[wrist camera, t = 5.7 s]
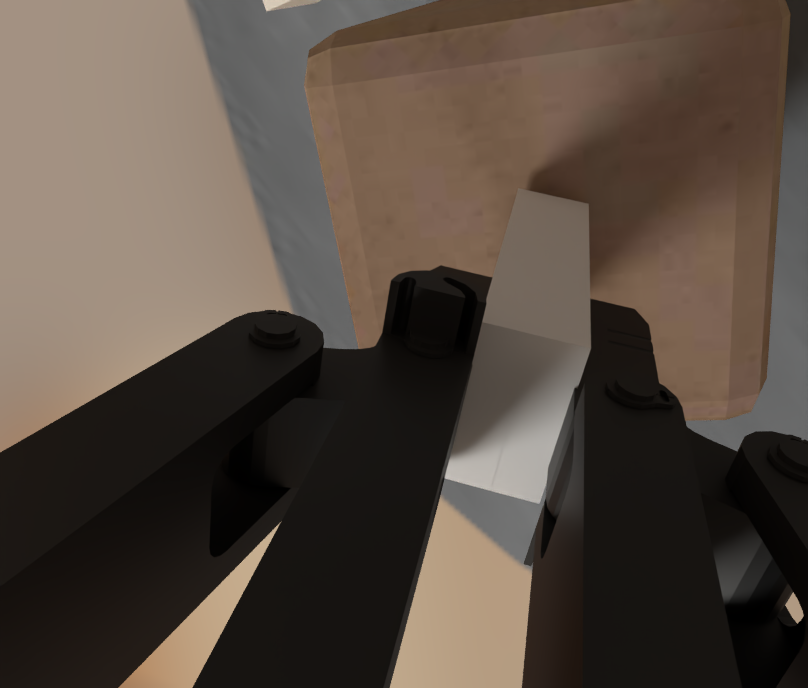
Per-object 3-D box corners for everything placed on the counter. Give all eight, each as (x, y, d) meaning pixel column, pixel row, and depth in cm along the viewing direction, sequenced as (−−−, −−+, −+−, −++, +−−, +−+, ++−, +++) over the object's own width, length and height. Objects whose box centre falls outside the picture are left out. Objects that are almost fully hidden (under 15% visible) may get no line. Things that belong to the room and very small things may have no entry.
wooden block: (467, 214, 37) (364, 440, 20) (440, -3, 33) (278, 42, 15) (678, 195, 34) (773, 437, 17) (679, -44, 30) (808, -45, 13)
